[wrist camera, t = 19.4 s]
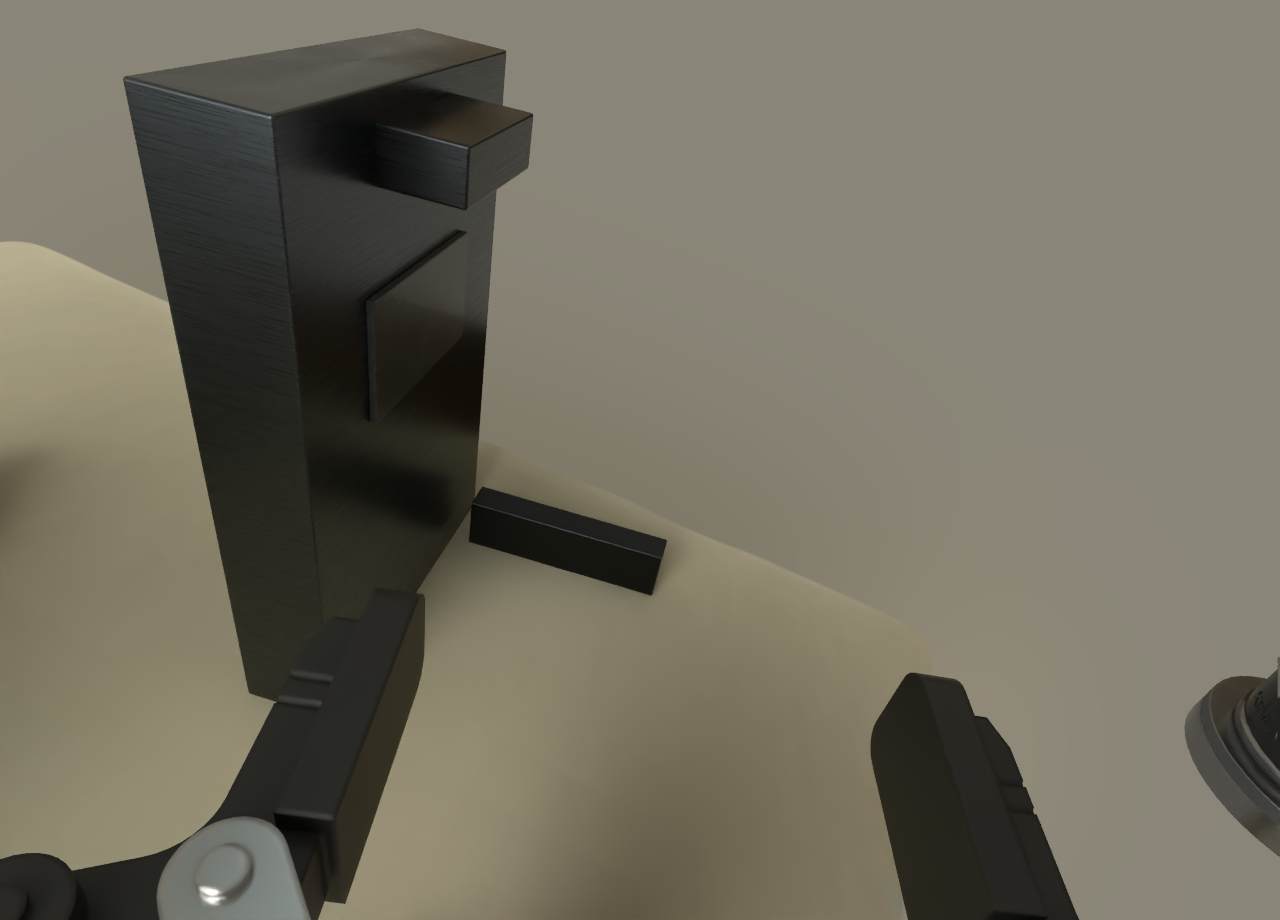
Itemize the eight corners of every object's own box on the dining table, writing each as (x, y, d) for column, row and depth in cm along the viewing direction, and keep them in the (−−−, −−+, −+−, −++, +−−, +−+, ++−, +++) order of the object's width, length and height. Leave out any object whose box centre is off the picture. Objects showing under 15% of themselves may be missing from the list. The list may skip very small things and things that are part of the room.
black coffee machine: (662, 557, 45) (786, 120, 30) (593, 802, 32) (754, 241, 17) (413, 485, 46) (417, 27, 31) (248, 693, 33) (120, 75, 18)
